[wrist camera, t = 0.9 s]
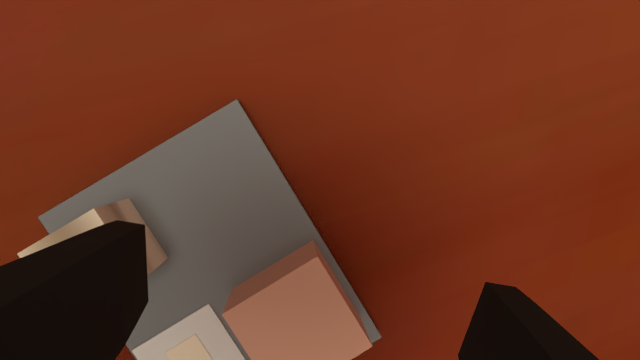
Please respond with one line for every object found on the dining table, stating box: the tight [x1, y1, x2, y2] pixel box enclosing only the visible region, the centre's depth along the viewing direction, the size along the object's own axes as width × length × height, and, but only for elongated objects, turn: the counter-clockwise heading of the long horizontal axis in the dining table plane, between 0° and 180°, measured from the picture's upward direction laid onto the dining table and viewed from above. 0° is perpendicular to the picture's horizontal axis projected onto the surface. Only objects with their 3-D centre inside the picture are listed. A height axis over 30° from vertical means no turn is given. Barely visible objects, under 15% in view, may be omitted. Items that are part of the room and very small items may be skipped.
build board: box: [38, 99, 381, 360], centre depth 26 cm, size 14×18×1 cm
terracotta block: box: [222, 240, 372, 360], centre depth 24 cm, size 6×6×4 cm
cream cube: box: [18, 198, 168, 276], centre depth 22 cm, size 4×4×4 cm
